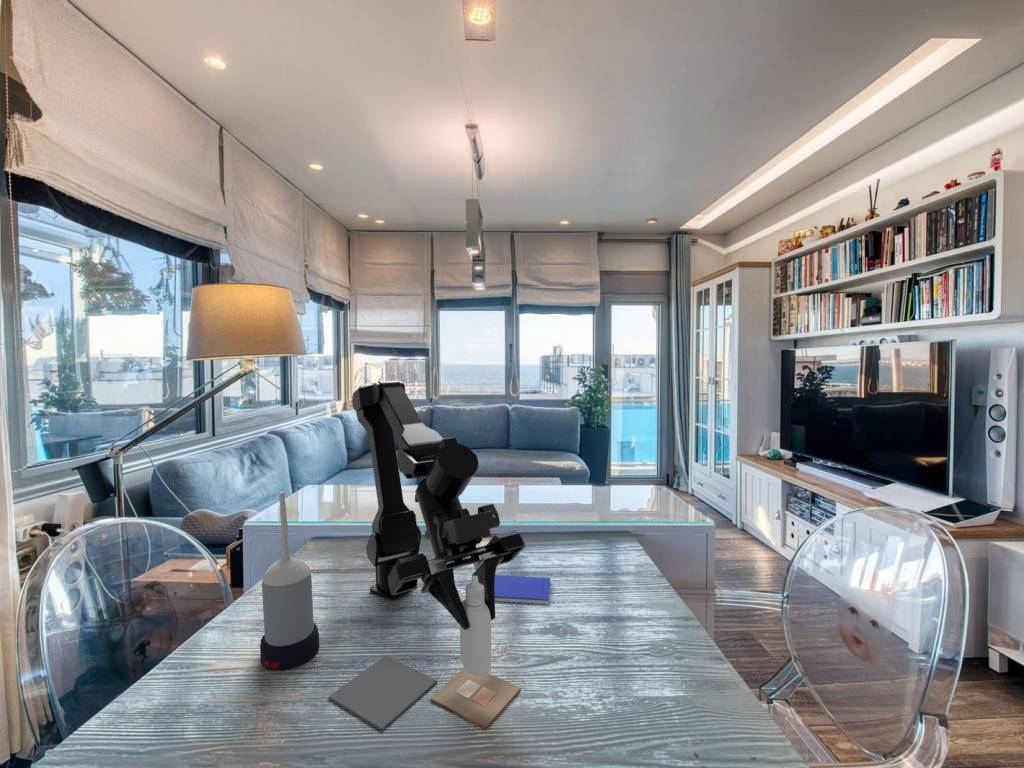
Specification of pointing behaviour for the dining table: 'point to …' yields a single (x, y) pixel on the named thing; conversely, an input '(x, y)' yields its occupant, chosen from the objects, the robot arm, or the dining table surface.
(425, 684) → the mat
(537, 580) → the hard drive
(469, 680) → the board
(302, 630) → the humidifier
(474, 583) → the eye dropper bottle
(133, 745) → the dining table surface
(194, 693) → the dining table surface
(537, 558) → the dining table surface
